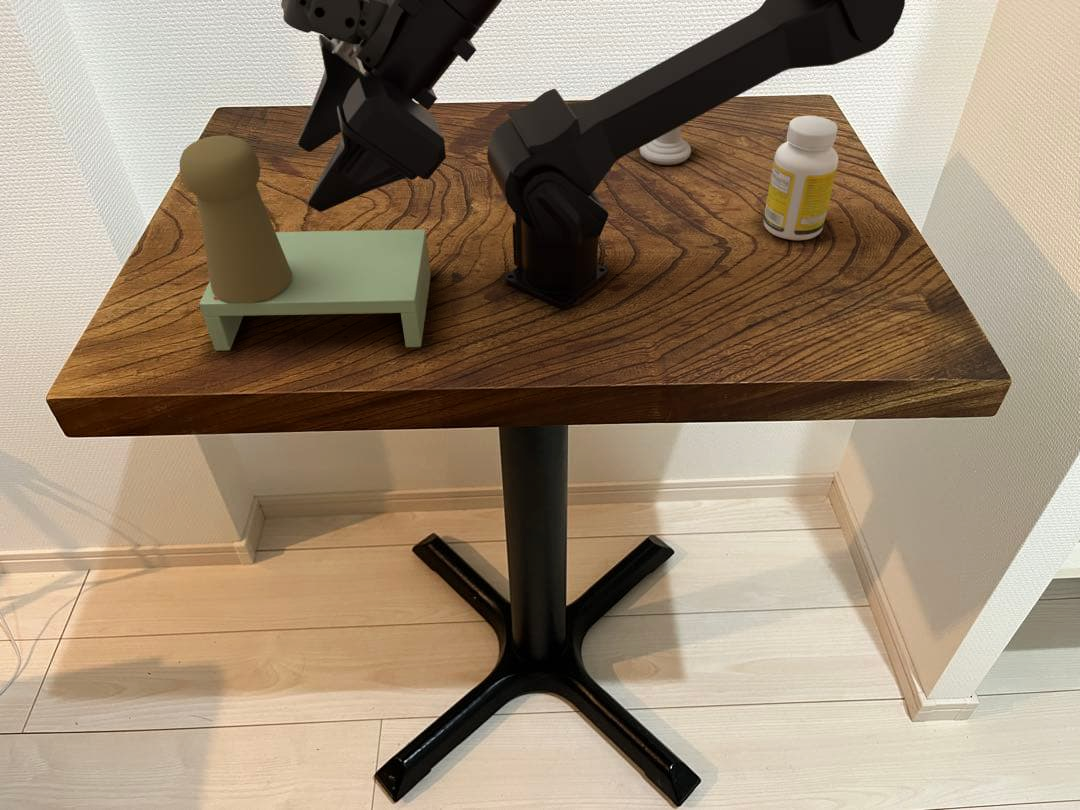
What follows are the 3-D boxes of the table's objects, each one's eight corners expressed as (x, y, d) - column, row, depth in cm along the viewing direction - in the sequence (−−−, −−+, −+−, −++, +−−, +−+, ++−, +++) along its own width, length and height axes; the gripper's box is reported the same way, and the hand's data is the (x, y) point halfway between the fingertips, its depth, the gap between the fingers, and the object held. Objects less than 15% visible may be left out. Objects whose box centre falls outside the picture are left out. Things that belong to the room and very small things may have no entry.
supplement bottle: (827, 219, 80) (852, 118, 74) (815, 247, 77) (840, 144, 70) (770, 207, 82) (789, 107, 75) (755, 234, 78) (774, 132, 72)
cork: (307, 266, 67) (277, 132, 59) (262, 310, 63) (223, 171, 55) (242, 252, 68) (204, 119, 61) (194, 293, 64) (147, 156, 57)
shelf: (421, 347, 67) (414, 297, 64) (214, 351, 67) (197, 301, 64) (430, 274, 74) (425, 226, 71) (245, 277, 74) (231, 230, 71)
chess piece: (696, 148, 91) (707, 63, 85) (681, 170, 87) (691, 83, 81) (649, 139, 93) (656, 55, 87) (631, 160, 89) (637, 74, 83)
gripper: (327, -128, 58) (203, 57, 63) (363, -52, 44) (202, 175, 50) (452, -15, 65) (331, 144, 70) (515, 80, 51) (359, 267, 57)
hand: (308, 176), depth 61 cm, fingers open, 9 cm apart
